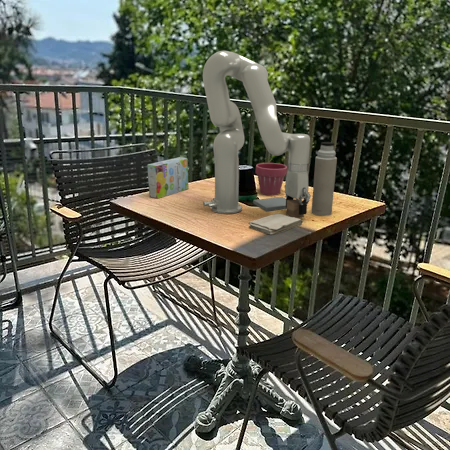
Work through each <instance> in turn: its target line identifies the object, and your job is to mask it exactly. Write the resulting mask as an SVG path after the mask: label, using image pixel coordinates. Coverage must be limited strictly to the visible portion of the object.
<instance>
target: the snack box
mask: <svg viewBox="0 0 450 450" xmlns="http://www.w3.org/2000/svg"><path fill="white" fill-rule="evenodd" d="M188 165H189V164H188V158H187V157H182V156H181V157H180V156H179V157H174V158H170V159H165V160H161V161H156V162H153V163H148V164H147V165H146V167H147V178H148V180H147V181H148V192H149V193H148V194H149V198H152V199H157V200H158V199H162V198H166V197H168V196H171V195H174V194H177V193H181V192H183V191H187V190H189V189H190V188H189V186H190V185H189V168H188V167H189V166H188Z"/></svg>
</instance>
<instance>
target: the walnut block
mask: <svg viewBox="0 0 450 450" xmlns="http://www.w3.org/2000/svg"><path fill="white" fill-rule="evenodd" d="M299 205H300V202H299V199H295V198H294V199H293V200H287V209H285V211H286V213H285V215H286V216H288V217H295V218H298V219H301V218H304V217H305V214H304V215H299Z"/></svg>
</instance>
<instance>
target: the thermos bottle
mask: <svg viewBox="0 0 450 450" xmlns="http://www.w3.org/2000/svg"><path fill="white" fill-rule="evenodd" d="M334 146H335V142H331V141H324V142H323V141H321V143H320V149H319V150H318V151H317V156H315V159H314V160H315V162H314V173H313V174H314V175H313V188H312V199H311V214H313V215H315V216H321V217H322V216H323V217H325V216H331V215H332V213H333V202H334V194H335V191H334V190H335V184H336V183H335V182H336V174H337V172H336V171H337V163H338V162H337V160H338V158H337V157H336V154H337V153H336V151H335V150H334V148H335V147H334Z"/></svg>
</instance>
